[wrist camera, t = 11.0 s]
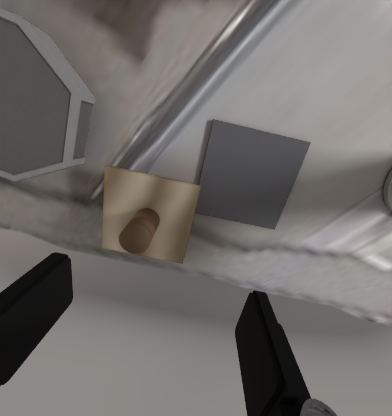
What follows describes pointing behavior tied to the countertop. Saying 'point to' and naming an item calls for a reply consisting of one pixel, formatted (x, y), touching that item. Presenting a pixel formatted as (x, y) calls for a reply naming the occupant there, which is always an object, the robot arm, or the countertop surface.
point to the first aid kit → (38, 103)
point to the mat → (248, 174)
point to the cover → (147, 214)
